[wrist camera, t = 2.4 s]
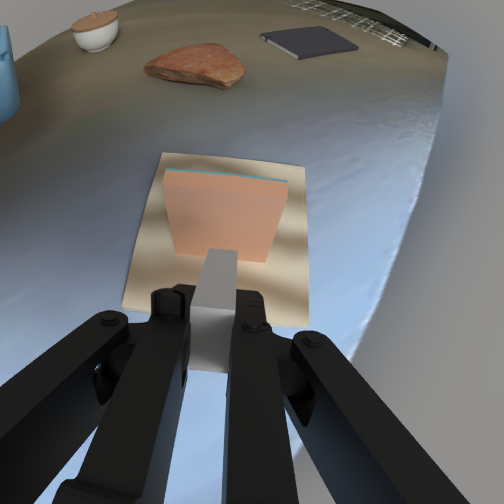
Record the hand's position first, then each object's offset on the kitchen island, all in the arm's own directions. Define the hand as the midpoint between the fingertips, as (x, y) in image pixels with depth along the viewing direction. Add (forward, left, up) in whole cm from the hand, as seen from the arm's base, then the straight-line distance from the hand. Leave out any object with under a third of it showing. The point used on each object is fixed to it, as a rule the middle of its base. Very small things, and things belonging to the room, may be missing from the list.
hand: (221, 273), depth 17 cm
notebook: (-50, +44, -15) cm, 68 cm away
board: (-10, +5, -14) cm, 18 cm away
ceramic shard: (-41, +13, -15) cm, 45 cm away
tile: (-7, +4, -8) cm, 11 cm away
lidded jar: (-67, -2, -14) cm, 68 cm away
